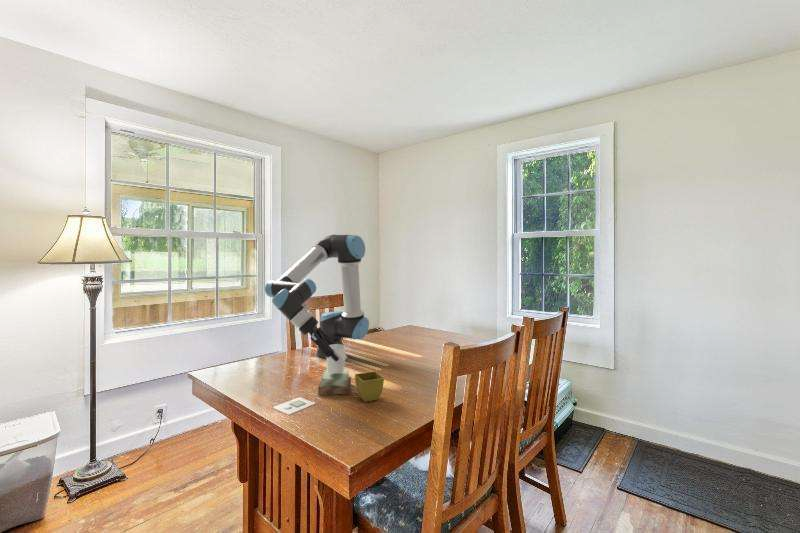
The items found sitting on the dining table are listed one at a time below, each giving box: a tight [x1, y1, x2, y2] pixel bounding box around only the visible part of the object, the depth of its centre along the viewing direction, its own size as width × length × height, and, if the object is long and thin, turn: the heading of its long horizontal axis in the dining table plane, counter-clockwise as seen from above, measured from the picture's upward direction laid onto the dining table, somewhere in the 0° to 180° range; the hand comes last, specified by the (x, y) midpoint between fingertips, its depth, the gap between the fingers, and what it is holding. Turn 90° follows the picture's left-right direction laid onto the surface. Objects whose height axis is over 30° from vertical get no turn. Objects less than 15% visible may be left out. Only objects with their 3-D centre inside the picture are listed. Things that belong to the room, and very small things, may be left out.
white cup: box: [326, 344, 347, 374], centre depth 148 cm, size 8×8×10 cm
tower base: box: [317, 369, 352, 396], centre depth 148 cm, size 12×12×6 cm
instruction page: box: [271, 396, 316, 416], centre depth 131 cm, size 12×9×1 cm
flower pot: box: [354, 370, 385, 403], centre depth 139 cm, size 9×9×9 cm
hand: (344, 362), depth 148 cm, fingers closed on white cup, 8 cm apart
